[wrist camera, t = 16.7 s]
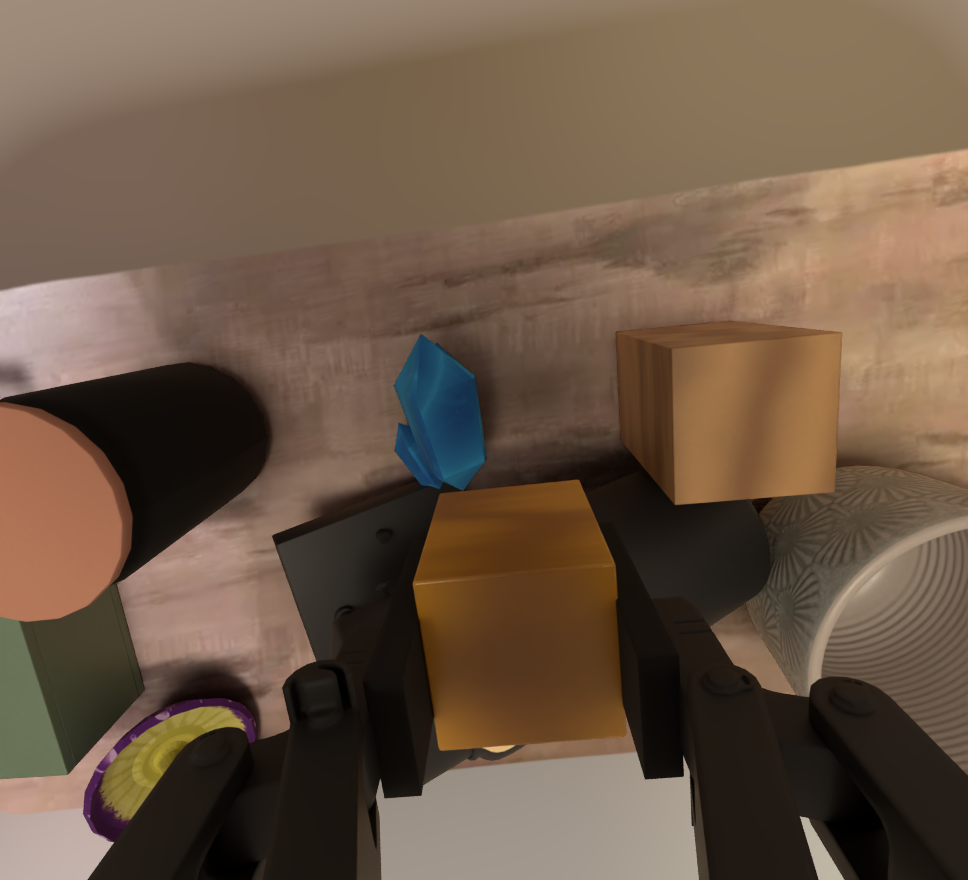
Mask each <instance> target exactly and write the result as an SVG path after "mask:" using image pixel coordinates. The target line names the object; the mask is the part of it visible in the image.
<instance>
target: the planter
mask: <svg viewBox="0 0 968 880" xmlns="http://www.w3.org/2000/svg"><path fill="white" fill-rule="evenodd" d="M758 515H759V517H760V519H761V521H762V523H763V526H764V528H765V531H766V534H767V537H768V542H769V546H770V554H771V566H770V573H769V576H768V580H767V582H766V584H765V586H764V587H763V589H762V590H761V591H760V593H759V594H758V595H756V596H755V597H754V598H752V599H750V600H749V601H747V602H746V606H747V609H748V612H749V614H750V617H751V619H752V621H753V623H754V625H755V627H756V629H757V631H758V633H759V635H760V636H761V638H762V639H763V641H764V643H765V644H766V646H767V648H768V649H769V651H770V652H771V654H772V656H773V657H774V659H775V661H776V662H777V664H778V666H779V667H780V669H781V670H782V672H783V674H784V675H785V677H786V679H787V680H788V682H789V683H790V685H791V687H792V688H793V690H794V692H795V693H796V695H797V696H804V697H809V692H810V687H811V685H812V684H813V683H814V682H816V681H817V680H818V679H821V678H826V677H830V676H838V677H849V678H853V679H858V680H862V681H864V682H867V683H869V684H871V685H873V686H876V687H878V688H879V689H881V690H882V691H883V692H884V693H886V694H887V695H888V696H890V697H891V698H892V699H893V700H894V701H895V702H896V703H897V704H898V705H899V706H900V707H901V708H902V709H903V710H904V711H905V712H906V713H907V714H908V715H909V716H910V717H911V718H912V719H913V720H914V721H915V722H916V723H917V724H918V725H919V726H920V727H921V728H922V729H923V730H924V731H925V732H926V733H927V735H928V736H929V737H930V738H931V739H932V740H933V741H934V742H935V743H936V744H937V745H938V746H939V747H940V748H941V749H942V750H943V751H944V752H945V753H946V754H947V755H948V756H949V757H950V758H951V759H952V760H953V761H954V762H955V763H956V764H957V765H958V766H959V767H960V768H961V769H962V770H963V771H964V772H965V773H966V774H967V775H968V489H964V488H961V487H958V486H955V485H952V484H949V483H945V482H942V481H939V480H936V479H933V478H930V477H926V476H923V475H920V474H917V473H913V472H909V471H905V470H900V469H895V468H888V467H880V466H848V467H840V468H836V478H835V492H830V493H818V494H805V495H793V496H781V497H774V498H773V499H772V500H770V502H769V503H768V504H767V505H766V506H765V507H764V508H763V509H762V511H761V512H760V513H759V514H758Z"/></svg>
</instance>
